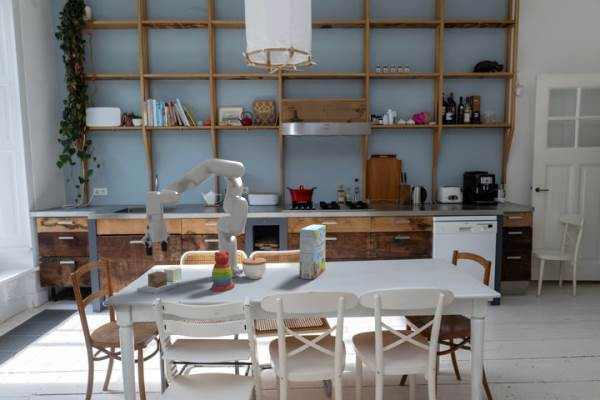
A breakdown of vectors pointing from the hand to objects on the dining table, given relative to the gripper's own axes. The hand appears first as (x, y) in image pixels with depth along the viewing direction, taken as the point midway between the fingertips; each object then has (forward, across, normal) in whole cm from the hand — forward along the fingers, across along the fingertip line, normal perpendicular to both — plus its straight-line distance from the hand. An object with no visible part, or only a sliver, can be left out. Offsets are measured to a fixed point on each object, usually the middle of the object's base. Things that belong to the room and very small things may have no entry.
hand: (157, 253), depth 201 cm
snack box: (+19, +52, -58) cm, 80 cm away
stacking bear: (+18, +11, -29) cm, 35 cm away
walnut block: (+16, -1, 0) cm, 16 cm away
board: (+17, -1, 0) cm, 17 cm away
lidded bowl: (+18, +35, -32) cm, 51 cm away
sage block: (+17, +14, +4) cm, 23 cm away
